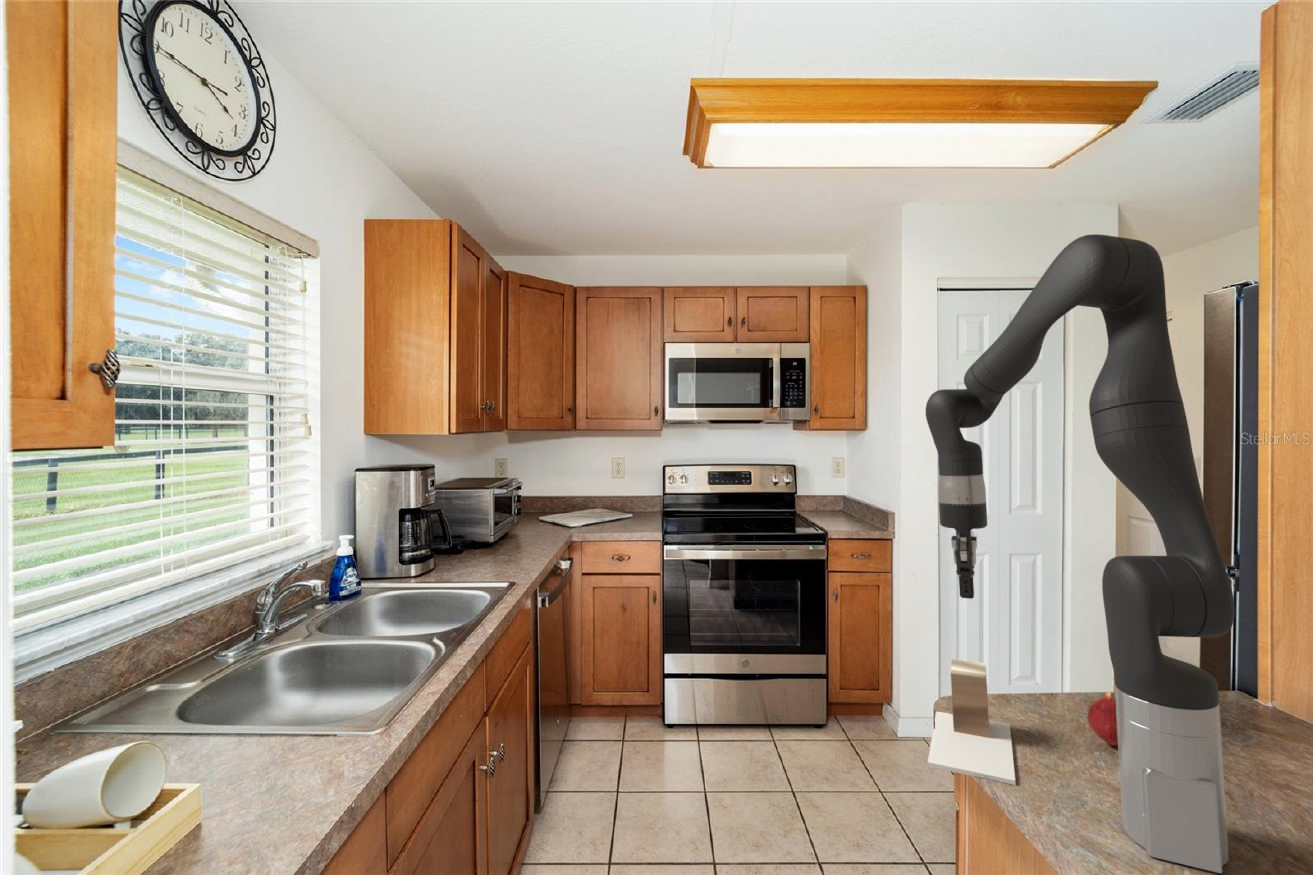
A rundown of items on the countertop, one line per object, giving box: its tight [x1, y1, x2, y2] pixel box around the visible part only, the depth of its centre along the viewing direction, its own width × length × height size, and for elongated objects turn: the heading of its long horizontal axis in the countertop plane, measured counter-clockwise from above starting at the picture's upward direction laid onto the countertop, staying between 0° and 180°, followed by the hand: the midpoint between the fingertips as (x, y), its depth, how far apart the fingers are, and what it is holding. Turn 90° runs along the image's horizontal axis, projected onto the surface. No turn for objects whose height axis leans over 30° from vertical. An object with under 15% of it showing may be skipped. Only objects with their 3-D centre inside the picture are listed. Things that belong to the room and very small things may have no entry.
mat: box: [927, 711, 1016, 786], centre depth 90 cm, size 18×11×1 cm, turn 150°
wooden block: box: [950, 658, 990, 738], centre depth 94 cm, size 5×5×10 cm
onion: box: [1087, 691, 1118, 747], centre depth 88 cm, size 6×6×8 cm
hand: (967, 597), depth 102 cm, fingers closed
